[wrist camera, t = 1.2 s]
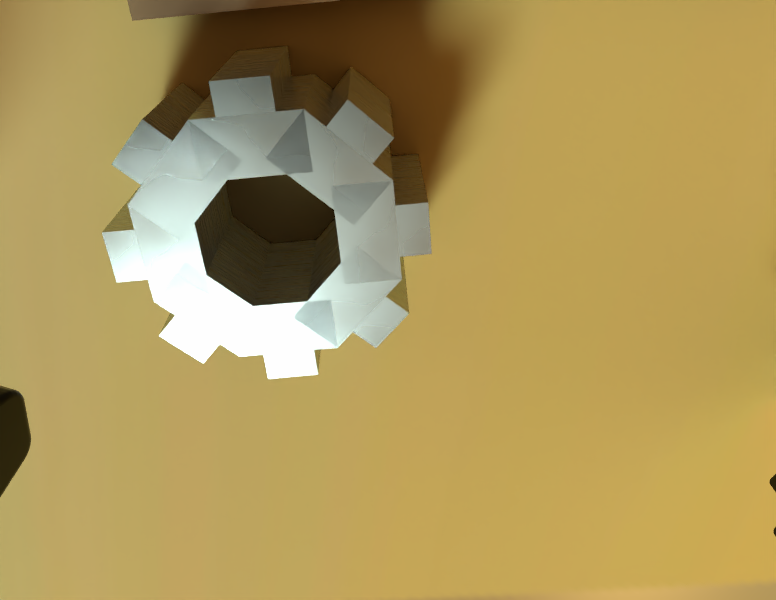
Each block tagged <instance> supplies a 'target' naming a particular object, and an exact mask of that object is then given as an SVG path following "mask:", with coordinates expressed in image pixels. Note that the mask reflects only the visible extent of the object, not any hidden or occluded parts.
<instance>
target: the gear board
mask: <svg viewBox="0 0 776 600" xmlns="http://www.w3.org/2000/svg"><path fill="white" fill-rule="evenodd" d="M328 1H338V0H128V4H129V8H130V13H131V17H132V21H133V20H143V19H154V18H164V17H174V16H185V15H195V14H205V13H215V12H226V11H236V10H246V9H256V8H267V7H277V6H287V5H297V4H308V3H318V2H328Z"/></svg>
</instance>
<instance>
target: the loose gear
mask: <svg viewBox="0 0 776 600" xmlns="http://www.w3.org/2000/svg"><path fill="white" fill-rule="evenodd" d="M209 86H210V91H211V94H210V95H209V96H208V97H207V98H206V99H205V100H204V99H203V98H202V97H200V96H199V95H198V94H196V93H195V92H194V91H192V90H191V89H190V88H189V87H187V86H186V85H185V84H183V83H181V84H180V85H179V86H178V87H177V88H176V89H174V90H173V91H172V92H171V93H170V94H169V95H168V96H167V97H166V98H165V99H164V100H163V101H161V102H160V103H159V104H158V105H157V106H156V107H155V108H154V109H153V110H152V111H151V112H150V113H148V114H147V115H146V116H145V117H144V118H143V119H142V120H141V122H140V123H139V125H138V126H137V128H136V129H135V131H134V132H133V134H132V135H131V137H130V138H129V139H128V141H127V142H126V144H125V145H124V147H123V148H122V150H121V151H120V153H119V154H118V156H117V157H116V159H115V160H114V162H113V163H112V165H113V166H114V167H116V168H117V169H119V170H120V171H122V172H123V173H125V174H126V175H127V176H129V177H130V178H132V179H133V180H135V181H136V182H137V183H139V184H140V185H141V186H140V187H139V188H138V189H137V191H136V192H135V193H134V194H133V195H132V197H131V198H130V199H129V200H128V202H127V203H126V204H125V205H124V206H123V208H122V209H121V210H120V211H119V212H118V214H117V215H116V216H115V217H114V218H113V220H112V221H111V222H110V223H109V225H108V226H107V227H106V228H105V229H104V231H103V232H102V235H103V238H104V241H105V245H106V248H107V251H108V255H109V258H110V261H111V265H112V268H113V271H114V275H115V278H116V282H126V281H137V280H148V281H149V285H150V289H151V292H152V296H153V300H154V302H155V303H157V304H159V305H160V306H162V307H163V308H165V309H166V310H168V311H169V312H171V313H170V315H169V317H168V319H167V321H166V323H165V325H164V327H163V329H162V331H161V333H160V335H159V336H160V337H162V338H163V339H165V340H167V341H168V342H170V343H171V344H173V345H175V346H176V347H178V348H179V349H181V350H183V351H184V352H186V353H188V354H189V355H191V356H192V357H194V358H196V359H197V360H199V361H200V362H202V363H204V362H205V360H206V359H207V358H208V357H209V356H210V355H211V353H212V352H213V351H214V350H215V349H216V348H217V346H218V345H219V344H221V345H223V346H224V347H226V348H227V349H229V350H230V351H232V352H234V353H235V354H237V355H238V356H250V355H262V354H263V355H264V360H265V365H266V370H267V375H268V379H273V378H284V377H296V376H307V375H318V370H319V360H320V351H321V349H330V348H338V347H339V346H340V345H341V344H342V343H343V342H344V341H345V339H346V338H347V337H348V336H349V335H350V334H351V333H352V332H354V333H355V334H356V335H358V336H359V337H361V338H362V339H364V340H365V341H366V342H368V343H369V344H371V345H372V346H374V347H375V348H376V347H377V346H378V345H379V344H380V343H381V342H382V341H383V340H384V339H385V338H386V337H387V336H388V335H389V334H390V333H391V332H392V331H393V330H394V329H395V328H396V327H397V326H398V325H399V323H400V322H401V321H402V320H403V319H404V318H405V317H406V316H407V315H408V314H409V308H408V298H407V288H406V279H405V269H404V260H403V256H413V255H424V254H431V238H430V223H429V207H428V199H427V195H426V190H425V185H424V180H423V176H422V171H421V166H420V161H419V157H418V154H411V155H400V156H391V154H390V142H391V141H392V140H393V139H394V132H393V124H392V115H391V107H390V99H389V98H388V97H387V96H386V95H385V94H383V93H382V92H381V91H380V90H379V89H377V88H376V87H375V86H374V85H373V84H372V83H370V82H369V81H368V80H367V79H366V78H364V77H363V76H362V75H361V74H360V73H359V72H357V71H356V70H355V69H354V68H353V67H350V69H349V70H348V71H347V72H346V74H345V75H344V76H343V77H342V79H341V80H340V81H339V83H338V84H337V85H336V86H335V88H334V89H332V88H331V87H330V86H329V85H328V84H326V83H325V82H324V81H323V80H321V79H320V78H319V77H318V76H317V75H315V74H311V75H300V76H292V74H291V67H290V60H289V54H288V47H287V46H282V47H272V48H262V49H251V50H241V51H236V53H235V54H234V55H233V56H232V57H231V58H230V59H229V60H228V61H227V62H226V63H225V64H224V65H223V66H222V67H221V69H220V70H219V71H218V72H217V73H216V74H215V75H214V76H213V77H212V78H211V79H210V80H209ZM285 174H287V175H288V176H290V177H291V178H292V179H294V180H295V181H296V182H298V183H299V184H300V185H302V186H303V187H304V188H305V189H307V190H308V191H309V192H311V193H312V194H313V195H315V196H316V197H317V198H319V199H320V200H321V201H323V202H324V203H325V204H327V205H328V206H329V207H331V208H332V209H333V210H334V212H335V219H334V220H333V221H332V222H331V223H330V225H329V226H328V227H327V228H326V229H325V230H324V232H323V233H322V234H321V235H320V236H319V237H318V239H317V240H307V241H296V242H286V243H275V244H270V243H269V242H268V241H266V240H265V239H263V238H262V237H260V236H259V235H258V234H256V233H255V232H253V231H252V230H251V229H249V228H248V227H246V226H245V225H244V224H242V223H241V222H239V221H238V220H237V219H235V218H234V217H232V213H231V208H230V203H229V198H228V193H227V188H226V183H225V182H226V181H227V180H232V179H242V178H253V177H264V176H275V175H285Z"/></svg>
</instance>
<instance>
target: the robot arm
mask: <svg viewBox="0 0 776 600" xmlns="http://www.w3.org/2000/svg"><path fill="white" fill-rule="evenodd" d="M30 443H31V434H30V429H29V424H28V418H27V413H26V407H25V402H24V398H23V396H22V395H21V394H20V392H18V391H16V390H14V389H10V388H7V387H3V386H0V497H1V495H2V494H3V492H4V491H5V489H6V487H7V486H8V484H9V483H10V481H11V480H12V478H13V477H14V475H15V473H16V472H17V470H18V469H19V467H20V466H21V464H22V462H23V461H24V459H25V458H26V456H27V453H28V451H29V448H30Z"/></svg>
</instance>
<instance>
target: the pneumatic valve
mask: <svg viewBox="0 0 776 600" xmlns="http://www.w3.org/2000/svg"><path fill="white" fill-rule="evenodd" d="M770 485H771V486H772V487H773V489H774V490H775V492H776V474H775V475H774V476H773V477H772V478H771V479H770ZM774 534H775V536H776V527H775V528H774Z"/></svg>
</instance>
